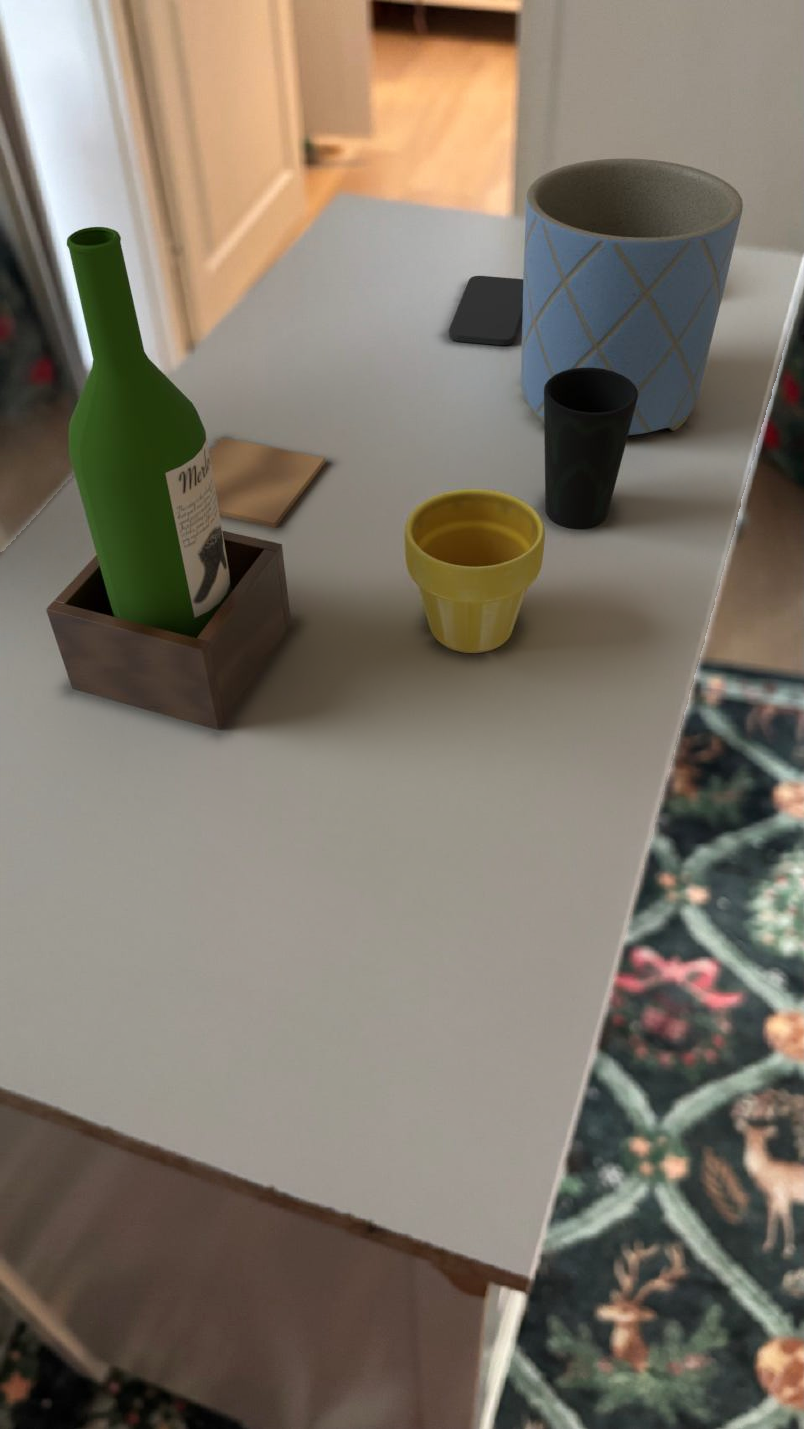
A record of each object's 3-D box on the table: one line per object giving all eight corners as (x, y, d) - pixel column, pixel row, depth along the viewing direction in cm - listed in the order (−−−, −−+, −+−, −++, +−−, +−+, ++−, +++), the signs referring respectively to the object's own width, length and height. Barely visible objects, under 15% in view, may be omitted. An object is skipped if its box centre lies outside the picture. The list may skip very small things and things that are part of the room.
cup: (618, 540, 94) (637, 417, 85) (530, 533, 95) (541, 411, 86) (620, 490, 99) (638, 369, 91) (537, 483, 100) (547, 364, 92)
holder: (71, 689, 82) (45, 609, 77) (155, 589, 90) (136, 510, 85) (218, 730, 79) (202, 650, 73) (291, 623, 87) (282, 543, 81)
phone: (446, 334, 119) (470, 274, 129) (446, 341, 119) (470, 281, 129) (513, 340, 118) (532, 279, 128) (512, 347, 118) (531, 286, 128)
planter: (522, 452, 104) (537, 243, 90) (506, 355, 117) (517, 160, 103) (720, 447, 104) (767, 238, 89) (681, 351, 117) (717, 155, 103)
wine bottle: (218, 703, 81) (134, 277, 57) (108, 685, 82) (-18, 262, 59) (257, 626, 87) (195, 211, 63) (153, 611, 88) (55, 200, 65)
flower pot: (441, 571, 91) (442, 473, 84) (555, 606, 88) (566, 507, 81) (383, 645, 85) (379, 545, 78) (503, 686, 82) (511, 586, 75)
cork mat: (167, 503, 99) (166, 498, 99) (223, 442, 106) (222, 437, 106) (275, 528, 96) (275, 522, 96) (325, 463, 103) (325, 457, 103)
